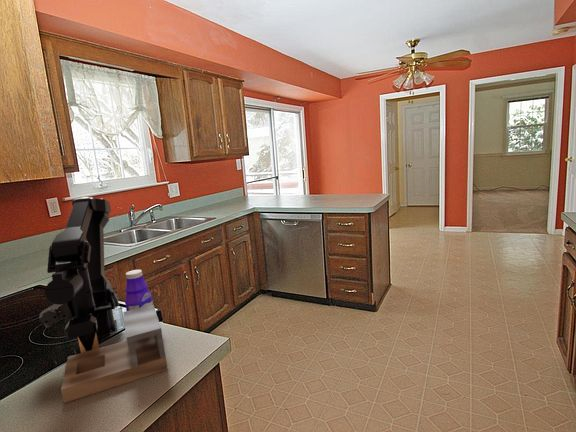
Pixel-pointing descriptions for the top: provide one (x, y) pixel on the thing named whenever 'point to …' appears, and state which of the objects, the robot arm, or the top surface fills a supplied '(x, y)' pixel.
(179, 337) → the top surface
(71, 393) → the socket block
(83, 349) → the peg
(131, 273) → the bottle
